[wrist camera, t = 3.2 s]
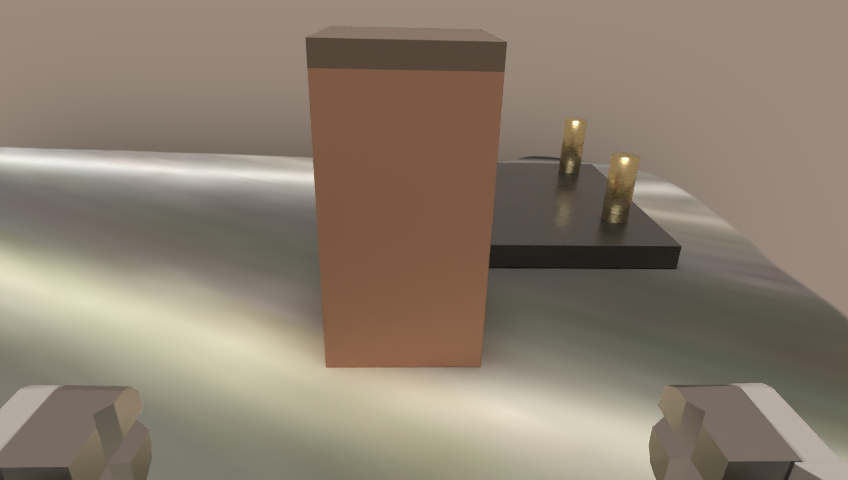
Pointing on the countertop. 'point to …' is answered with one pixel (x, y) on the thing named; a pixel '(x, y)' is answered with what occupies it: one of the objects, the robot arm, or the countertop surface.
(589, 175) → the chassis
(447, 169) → the block
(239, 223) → the countertop surface
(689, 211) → the countertop surface
